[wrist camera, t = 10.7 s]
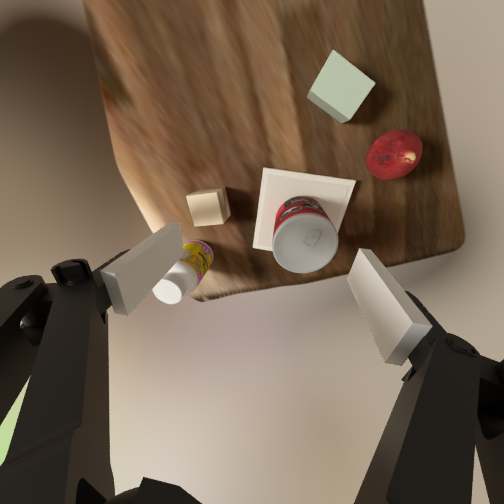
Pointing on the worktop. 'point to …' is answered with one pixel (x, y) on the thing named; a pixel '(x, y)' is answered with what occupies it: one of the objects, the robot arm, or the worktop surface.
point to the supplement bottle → (185, 272)
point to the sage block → (340, 88)
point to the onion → (394, 154)
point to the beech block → (209, 206)
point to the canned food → (303, 235)
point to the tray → (298, 184)
